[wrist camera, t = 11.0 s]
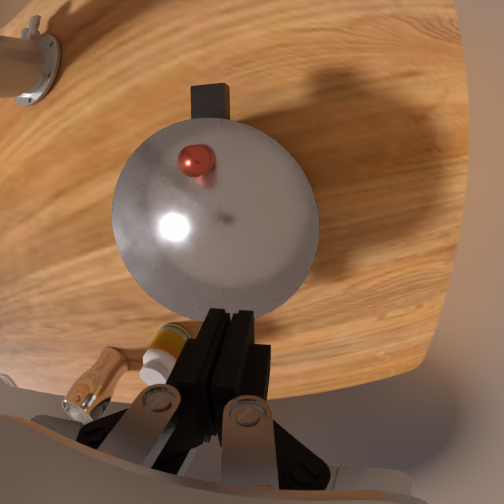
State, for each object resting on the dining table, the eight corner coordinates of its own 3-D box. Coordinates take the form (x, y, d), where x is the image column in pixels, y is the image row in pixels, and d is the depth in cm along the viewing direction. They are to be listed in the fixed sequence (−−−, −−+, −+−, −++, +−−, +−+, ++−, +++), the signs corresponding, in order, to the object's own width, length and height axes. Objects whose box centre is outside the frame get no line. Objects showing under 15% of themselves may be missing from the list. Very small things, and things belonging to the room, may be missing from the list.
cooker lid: (110, 131, 23) (89, 132, 20) (320, 117, 21) (324, 113, 18) (135, 307, 30) (122, 324, 27) (310, 322, 28) (311, 342, 25)
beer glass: (138, 371, 49) (103, 430, 35) (112, 372, 51) (77, 426, 37) (119, 343, 47) (77, 401, 33) (94, 346, 48) (53, 398, 35)
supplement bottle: (156, 321, 43) (129, 361, 34) (188, 323, 43) (165, 366, 34) (164, 347, 45) (141, 389, 36) (194, 350, 45) (175, 394, 36)
